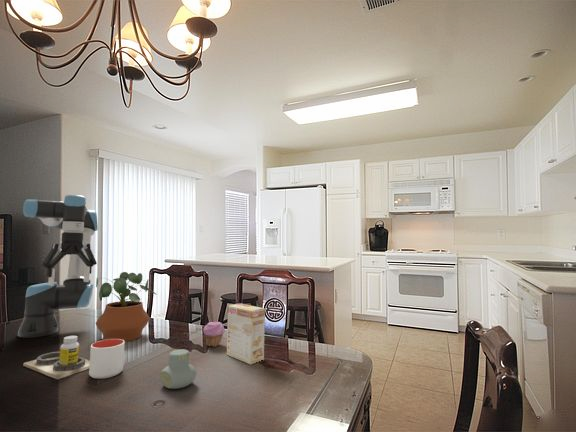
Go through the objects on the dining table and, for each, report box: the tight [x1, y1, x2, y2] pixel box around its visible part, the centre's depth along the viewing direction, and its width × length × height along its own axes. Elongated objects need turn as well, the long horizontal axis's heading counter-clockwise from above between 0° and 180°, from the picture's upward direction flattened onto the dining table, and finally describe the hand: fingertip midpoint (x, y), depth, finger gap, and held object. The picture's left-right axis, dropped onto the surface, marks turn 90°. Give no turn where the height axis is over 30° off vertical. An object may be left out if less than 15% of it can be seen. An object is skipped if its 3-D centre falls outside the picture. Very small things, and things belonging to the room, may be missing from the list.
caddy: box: [22, 351, 90, 380], centre depth 113 cm, size 13×22×2 cm, turn 62°
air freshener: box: [159, 348, 197, 390], centre depth 100 cm, size 11×8×10 cm
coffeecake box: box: [226, 302, 266, 365], centre depth 125 cm, size 15×7×20 cm, turn 47°
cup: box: [88, 339, 126, 380], centre depth 108 cm, size 10×10×10 cm
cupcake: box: [202, 321, 225, 348], centre depth 139 cm, size 9×9×10 cm
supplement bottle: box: [59, 335, 80, 365], centre depth 111 cm, size 5×5×10 cm
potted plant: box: [95, 271, 157, 343], centre depth 151 cm, size 23×28×30 cm
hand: (69, 283), depth 132 cm, fingers open, 13 cm apart
